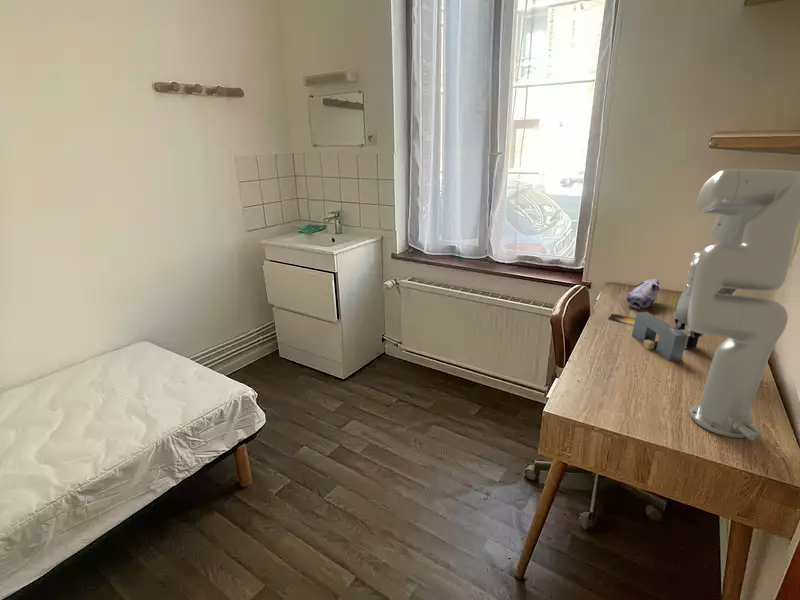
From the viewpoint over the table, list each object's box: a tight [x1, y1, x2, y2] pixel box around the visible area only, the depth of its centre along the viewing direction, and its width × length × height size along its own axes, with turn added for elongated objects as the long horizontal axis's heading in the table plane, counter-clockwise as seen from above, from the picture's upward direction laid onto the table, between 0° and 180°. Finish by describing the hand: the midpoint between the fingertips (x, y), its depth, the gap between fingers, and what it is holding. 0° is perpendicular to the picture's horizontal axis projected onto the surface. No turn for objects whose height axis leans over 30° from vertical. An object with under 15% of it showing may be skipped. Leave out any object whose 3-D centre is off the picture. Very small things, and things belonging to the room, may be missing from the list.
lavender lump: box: [626, 278, 662, 310], centre depth 174 cm, size 10×18×10 cm, turn 127°
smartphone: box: [607, 313, 636, 326], centre depth 161 cm, size 7×1×15 cm
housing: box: [631, 311, 687, 362], centre depth 140 cm, size 18×4×8 cm, turn 8°
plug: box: [642, 328, 700, 350], centre depth 142 cm, size 4×16×4 cm, turn 99°
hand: (685, 343), depth 143 cm, fingers closed on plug, 4 cm apart
